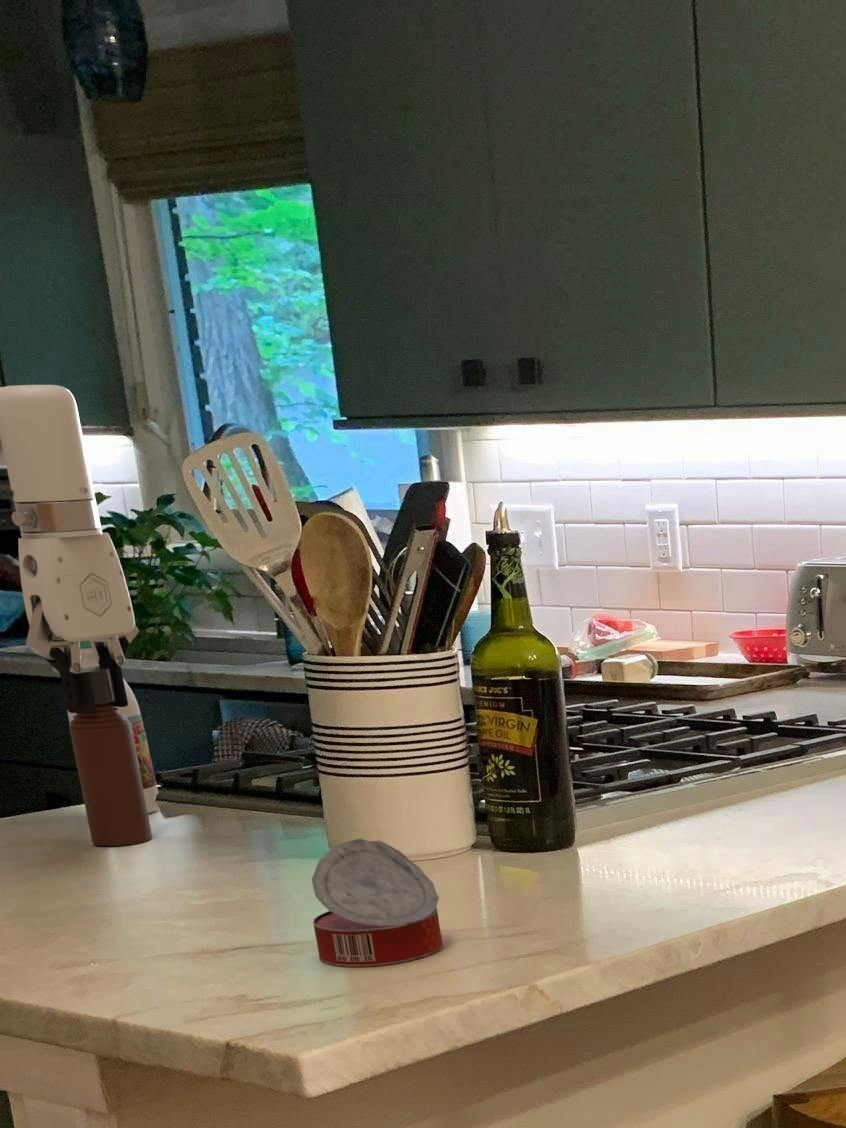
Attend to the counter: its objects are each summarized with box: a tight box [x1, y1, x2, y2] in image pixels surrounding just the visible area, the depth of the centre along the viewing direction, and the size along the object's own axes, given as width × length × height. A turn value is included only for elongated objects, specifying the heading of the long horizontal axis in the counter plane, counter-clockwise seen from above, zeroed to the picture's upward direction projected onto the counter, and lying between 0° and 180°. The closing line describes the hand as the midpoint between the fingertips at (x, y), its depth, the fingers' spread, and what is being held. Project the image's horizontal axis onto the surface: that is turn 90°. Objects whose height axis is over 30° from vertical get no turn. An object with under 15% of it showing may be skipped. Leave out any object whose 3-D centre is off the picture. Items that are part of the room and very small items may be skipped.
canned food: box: [311, 838, 444, 968], centre depth 157 cm, size 11×10×10 cm
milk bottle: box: [67, 640, 160, 814], centre depth 218 cm, size 8×8×20 cm
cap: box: [81, 667, 116, 704], centre depth 200 cm, size 4×4×3 cm
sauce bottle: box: [68, 703, 153, 847], centre depth 203 cm, size 6×6×17 cm
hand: (98, 707), depth 201 cm, fingers closed on cap, 3 cm apart
